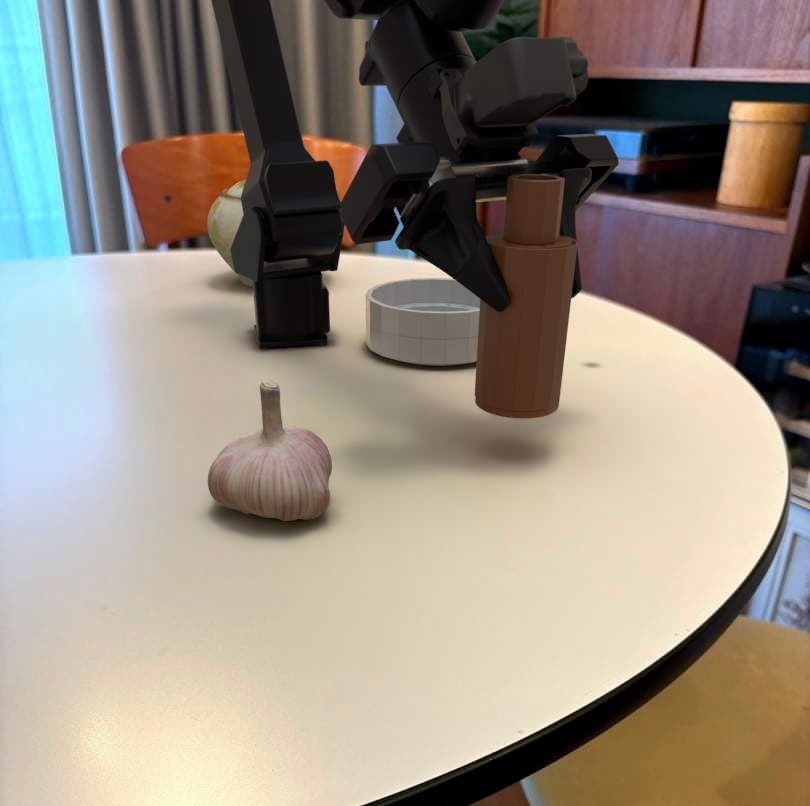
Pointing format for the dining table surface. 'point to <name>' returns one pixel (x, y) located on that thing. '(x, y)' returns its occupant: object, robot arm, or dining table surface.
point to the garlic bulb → (273, 468)
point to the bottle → (527, 304)
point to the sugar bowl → (227, 223)
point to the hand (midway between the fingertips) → (541, 301)
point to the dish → (423, 321)
